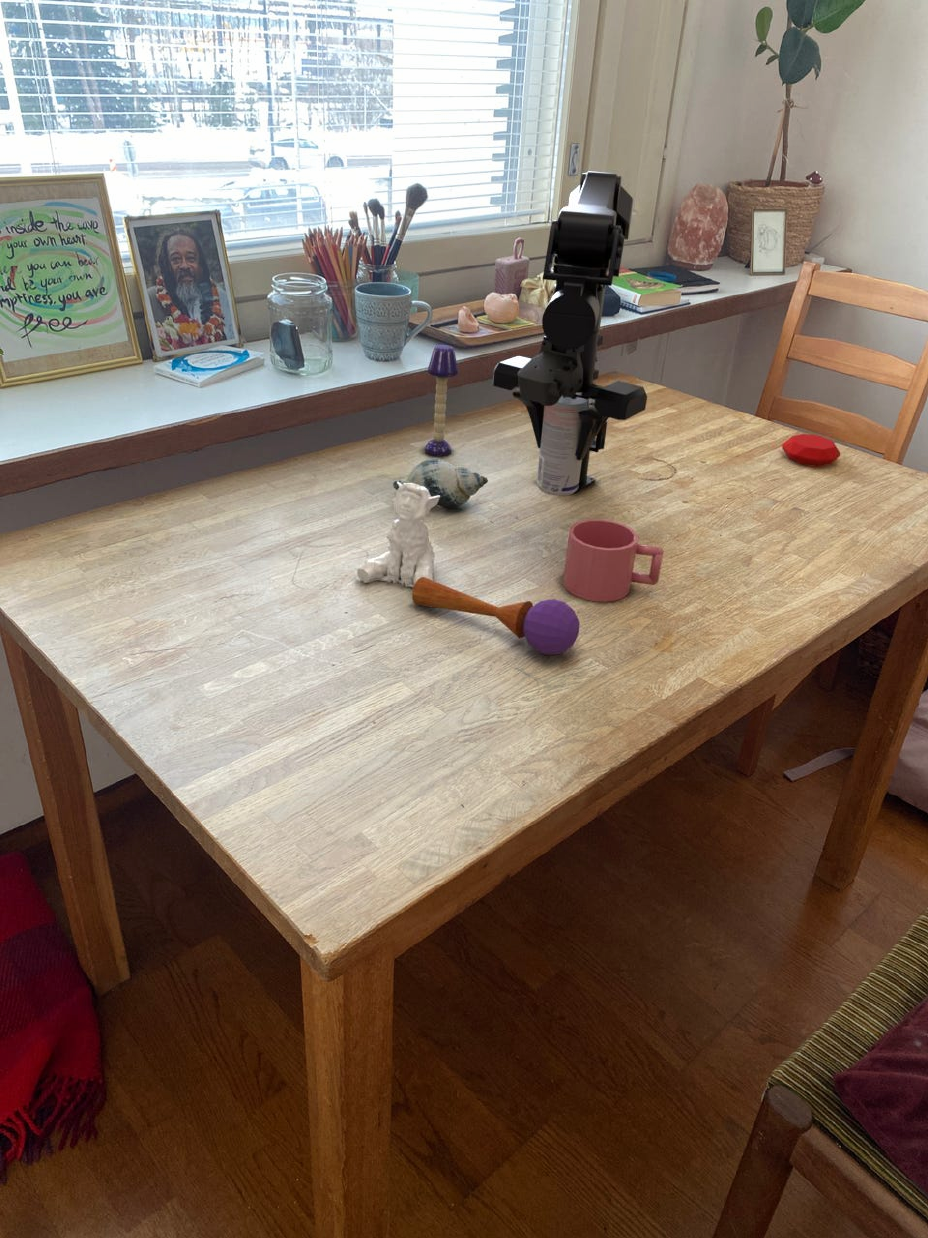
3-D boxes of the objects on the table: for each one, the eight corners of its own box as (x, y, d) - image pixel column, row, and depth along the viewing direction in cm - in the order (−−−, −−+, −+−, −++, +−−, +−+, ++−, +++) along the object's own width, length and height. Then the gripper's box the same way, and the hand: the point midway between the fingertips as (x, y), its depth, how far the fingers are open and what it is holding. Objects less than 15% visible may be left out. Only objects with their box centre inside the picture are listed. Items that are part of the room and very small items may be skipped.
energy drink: (582, 483, 122) (594, 394, 116) (571, 499, 118) (583, 407, 111) (542, 476, 124) (552, 387, 117) (531, 491, 119) (540, 400, 113)
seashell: (421, 495, 139) (480, 521, 133) (387, 487, 134) (447, 514, 127) (434, 454, 138) (495, 478, 131) (401, 444, 132) (462, 469, 125)
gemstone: (791, 444, 162) (795, 427, 160) (843, 457, 158) (848, 440, 156) (773, 458, 156) (777, 441, 154) (827, 473, 151) (831, 455, 150)
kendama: (436, 561, 110) (591, 601, 101) (432, 609, 112) (584, 652, 103) (407, 571, 105) (568, 614, 96) (403, 621, 107) (560, 668, 98)
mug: (559, 596, 113) (566, 544, 109) (566, 565, 120) (572, 515, 116) (655, 609, 111) (665, 557, 108) (656, 577, 118) (665, 527, 114)
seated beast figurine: (354, 582, 113) (353, 490, 107) (385, 552, 120) (386, 464, 114) (427, 599, 110) (429, 506, 104) (454, 568, 117) (458, 479, 111)
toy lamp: (427, 444, 153) (431, 341, 144) (456, 447, 153) (461, 344, 144) (422, 454, 149) (425, 349, 140) (451, 457, 149) (456, 352, 140)
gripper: (469, 323, 109) (462, 451, 117) (611, 357, 100) (593, 493, 108) (522, 308, 117) (512, 429, 125) (658, 338, 108) (638, 466, 116)
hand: (560, 453), depth 118 cm, fingers closed on energy drink, 5 cm apart
